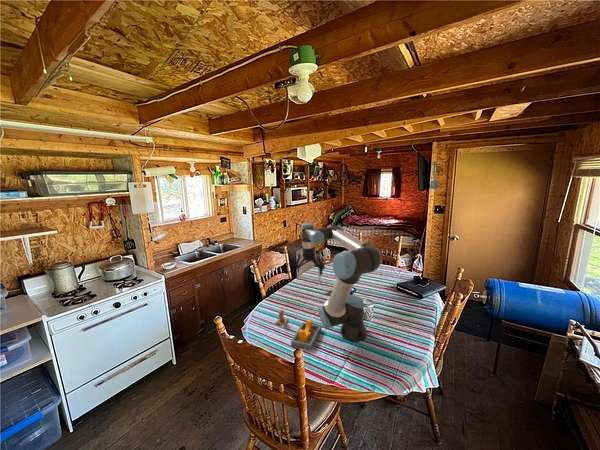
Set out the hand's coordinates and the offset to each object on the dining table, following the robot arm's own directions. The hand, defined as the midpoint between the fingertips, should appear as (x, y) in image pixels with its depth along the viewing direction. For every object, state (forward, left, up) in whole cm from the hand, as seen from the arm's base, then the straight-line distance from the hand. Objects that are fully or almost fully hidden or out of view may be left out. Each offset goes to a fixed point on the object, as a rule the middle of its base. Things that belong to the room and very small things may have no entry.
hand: (310, 277), depth 161 cm
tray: (-5, +23, -27) cm, 36 cm away
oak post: (+16, +14, -27) cm, 34 cm away
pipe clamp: (-5, +23, -26) cm, 35 cm away
